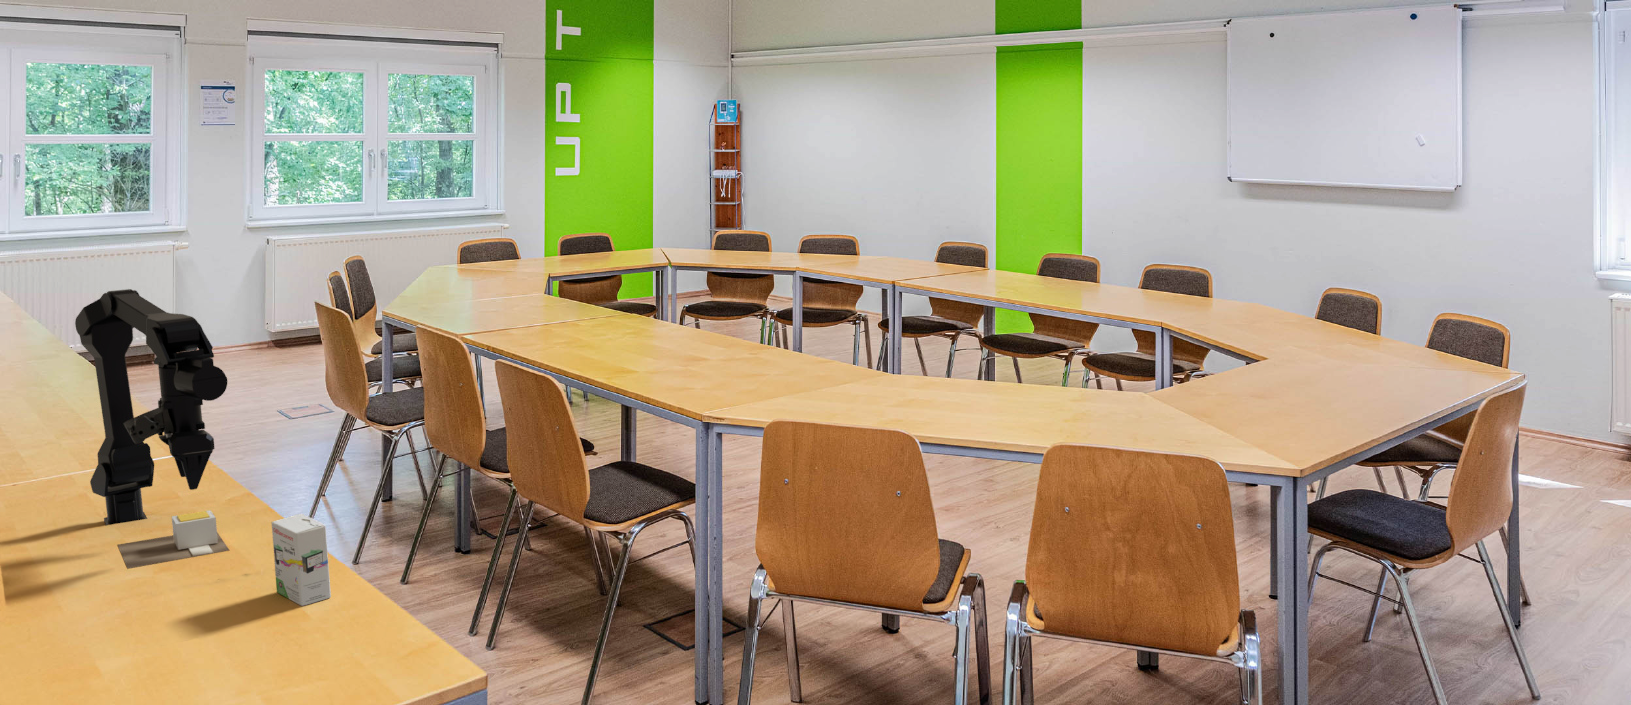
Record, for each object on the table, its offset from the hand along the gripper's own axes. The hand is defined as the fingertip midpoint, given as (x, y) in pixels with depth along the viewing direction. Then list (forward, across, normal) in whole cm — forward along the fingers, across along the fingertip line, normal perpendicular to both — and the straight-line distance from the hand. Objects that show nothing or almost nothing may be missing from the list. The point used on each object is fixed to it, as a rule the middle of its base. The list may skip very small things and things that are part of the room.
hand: (188, 482), depth 202 cm
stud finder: (+10, 0, 0) cm, 11 cm away
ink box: (+12, +32, +10) cm, 36 cm away
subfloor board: (+12, 0, -3) cm, 12 cm away
